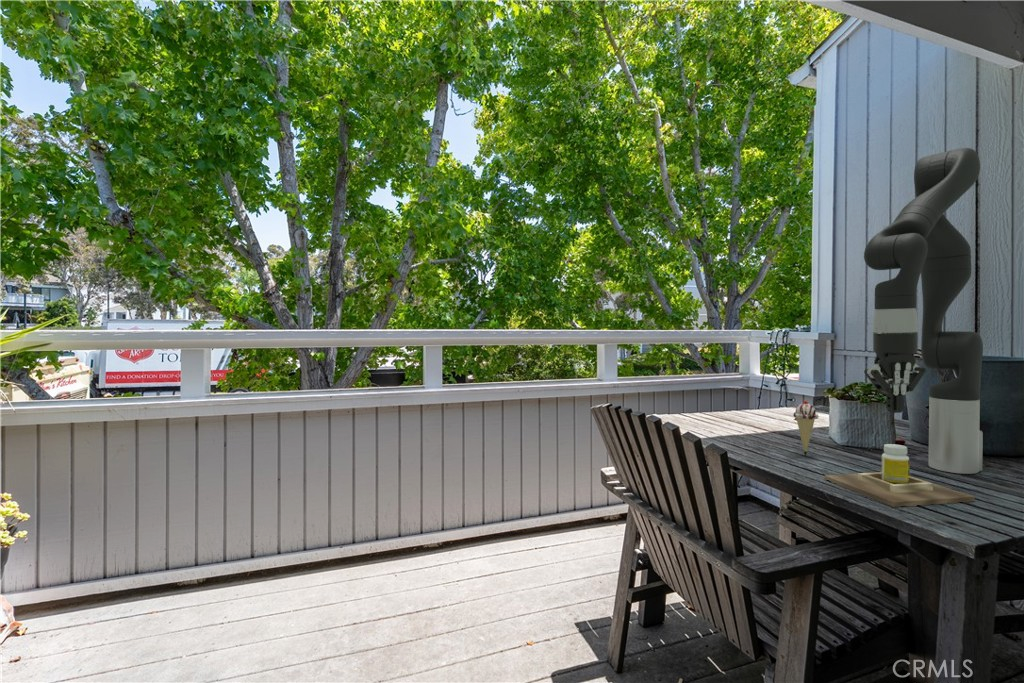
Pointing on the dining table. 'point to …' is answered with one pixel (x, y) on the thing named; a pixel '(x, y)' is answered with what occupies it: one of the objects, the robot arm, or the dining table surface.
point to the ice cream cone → (805, 422)
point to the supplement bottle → (895, 464)
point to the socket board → (899, 490)
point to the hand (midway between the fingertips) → (894, 412)
